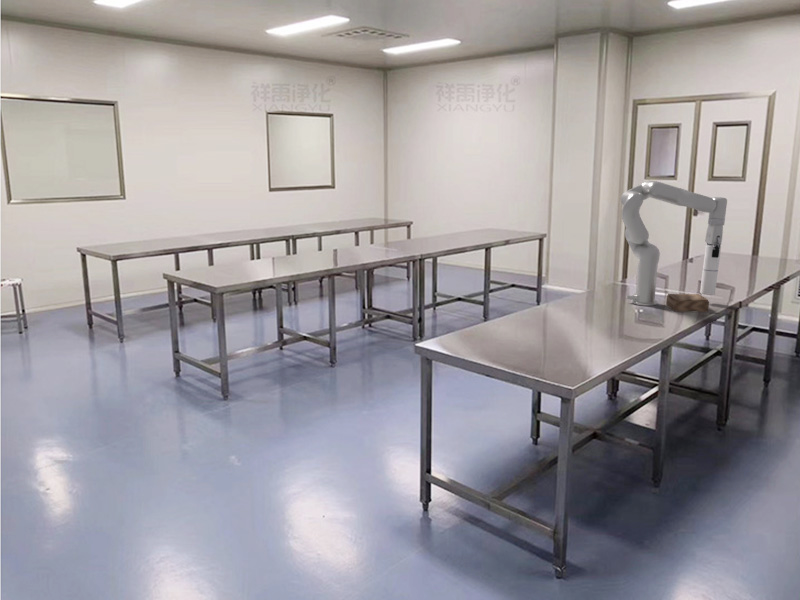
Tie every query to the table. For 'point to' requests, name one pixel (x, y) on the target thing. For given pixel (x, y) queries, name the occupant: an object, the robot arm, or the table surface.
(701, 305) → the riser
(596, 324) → the table surface
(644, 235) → the robot arm
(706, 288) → the cylindrical container
